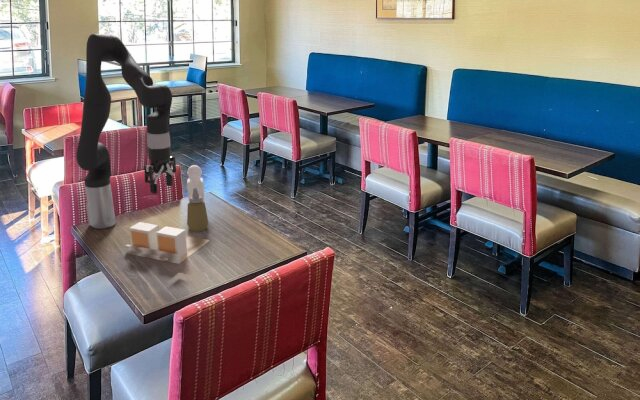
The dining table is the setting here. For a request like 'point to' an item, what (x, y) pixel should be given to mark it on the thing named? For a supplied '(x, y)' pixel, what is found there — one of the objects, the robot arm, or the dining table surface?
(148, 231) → the faced carton
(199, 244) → the shelf board
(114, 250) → the dining table surface
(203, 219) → the squeeze bottle
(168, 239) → the turned carton
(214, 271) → the dining table surface
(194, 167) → the white figurine
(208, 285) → the dining table surface
